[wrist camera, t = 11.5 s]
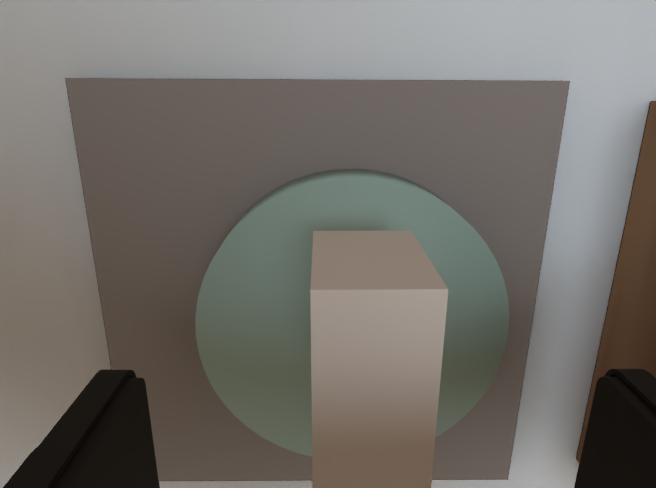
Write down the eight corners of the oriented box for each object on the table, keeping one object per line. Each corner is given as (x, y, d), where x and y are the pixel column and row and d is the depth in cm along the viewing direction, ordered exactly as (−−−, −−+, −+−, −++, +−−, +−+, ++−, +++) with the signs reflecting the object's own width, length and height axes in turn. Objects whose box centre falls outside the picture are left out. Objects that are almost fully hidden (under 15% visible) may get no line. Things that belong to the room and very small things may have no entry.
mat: (133, 472, 17) (129, 481, 16) (72, 78, 12) (64, 78, 12) (503, 470, 17) (508, 479, 16) (562, 81, 13) (569, 80, 12)
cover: (197, 168, 13) (79, 244, 7) (504, 168, 13) (677, 242, 7) (219, 425, 15) (149, 655, 9) (474, 423, 16) (578, 648, 9)
